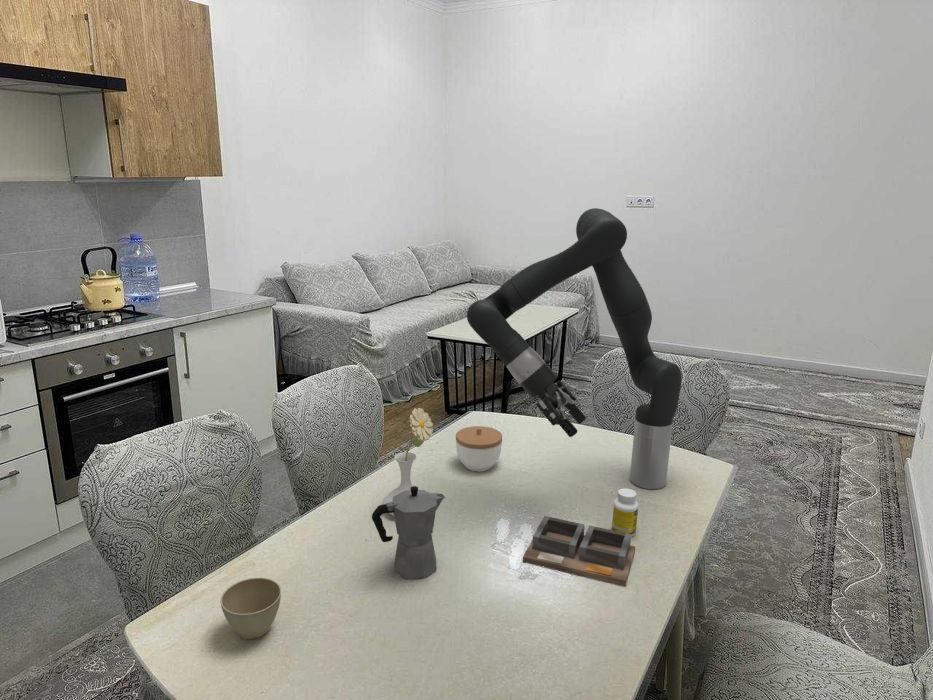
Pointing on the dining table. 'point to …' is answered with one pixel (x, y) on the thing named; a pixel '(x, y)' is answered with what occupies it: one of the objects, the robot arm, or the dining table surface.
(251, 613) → the beige bowl
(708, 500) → the dining table surface
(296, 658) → the dining table surface
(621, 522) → the supplement bottle
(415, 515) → the coffeepot
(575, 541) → the socket board
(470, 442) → the lidded bowl
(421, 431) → the flower in vase
